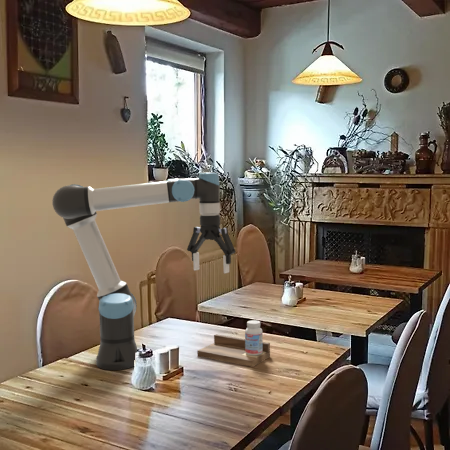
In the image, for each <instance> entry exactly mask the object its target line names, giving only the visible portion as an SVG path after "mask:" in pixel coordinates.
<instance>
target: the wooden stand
mask: <svg viewBox="0 0 450 450" xmlns="http://www.w3.org/2000/svg"><path fill="white" fill-rule="evenodd" d="M196 352H197V357H200V358H204V359H205V358H206V359H210V360H211V359H212V360H216V361H219V362H220V361H221V362H224V363H225V362H226V363H231V364H236V365H240V366H241V365H242V366H247V367H255V366H257V365H259V364H260V363H262V362H264V361H265V359H266V360H267V359H269V358H270V357H271V343H270V342H266V341H265V342H264V341H263V352H262V354H260V355H257V356H252V355H247V354H246V352H245V338H241V337H234V336H231V335H230V336H229V335H223V334H219V333H218V334H214V335H213V343H212V344H209V345H207V346H204V347H203V348H200V349H198V350H197V351H196Z"/></svg>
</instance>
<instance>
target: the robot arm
mask: <svg viewBox="0 0 450 450" xmlns="http://www.w3.org/2000/svg"><path fill="white" fill-rule="evenodd" d="M220 187H221V186H220V175H219V173H217V172H199V174H198V177H196V178H168V179H167V180H163V181H154V182H145V183H143V182H142V183H137V184H126V185H117V186H110V187H109V186H108V187H100V188H92V187H91V186H83V185H80V184H75V183H74V184H69V185H65V186H62V187H60V188H59V189H57V190H56V191H55V193H54V194H53V197H52V207H53V210H54V211H55V213H56V214H57V215H58V216H60V217H61V218H62V219H63V221H64V224H65V226H66V228H69V229H71V230H72V231H73V234H74V235H75V237H76V240H77V242H78V245H79V246H80V250H81V251H82V254H83V256H84V259H85V260H86V263H87V266H88V268H89V269H90V273H91V275H92V276H93V279H94V281H95V284H96V286H97V289H98V290H97V291H98V292H97V294H96V297H97V299H98V301H99V302H98V313H99V314H98V315H99V335H100V336H99V337H100V343H99V347H98V351H97V356H96V358H95V361H96V362H95V363H96V366H97V367H96V368H99V369H102V370H105V371H106V370H107V371H119V370H126V369H130V368H133V366H134V360H135V352H136V351H137V350H139V349H138V346H137V343H136V340H135V322H134V321H135V320H134V319H135V315H136V311H137V300H136V297H135V296H134V294H133V293H132V292H131V290H130V287H129V285H128V283H127V282H126V281H124V280H122V279H121V278H120V275H119V273H118V271H117V268H116V265H115V264H114V261H113V258H112V257H111V254H110V252H109V249H108V247H107V245H106V243H105V240H104V238H103V236H102V234H101V231H100V229H99V225H98V224H97V221H96V220H97V217H98V213H97V212H99V211H107V210H108V211H109V210H115V209H116V210H117V209H124V208H134V207H141V206H150V205H158V204H159V205H160V204H167V203H169V204H170V203H178V202H181V203H185V202H188V201H190V200H192V199H193V200H196V199H197V200H198V201H199V214H200V215H199V225H200V226H195V227H194V226H193V229H192V230H193V232H192V234H191V238H190V241H189V243H188V246H187V248H186V250H187V251H188V252H190V253H191V261H192V263H193V271H194V272H195V271H199V270H200V252H199V249H200V248H201V247H202V245H203V243H205V241H206V240H210V241H214V242H215V243H216V244H217V245H218V246H219V248H220V249H221V251H222V253H224V255H222V257H223V260H222V261H223V265H222V266H223V274H228V273H230V265H231V263H232V257H231V256H232V255H233V254H236V253H237V252H236V249H235V247H234V245H233V242H232V240H231V237H230V236H229V231H228V228H227V227H223V228H221V226H220V225H221V215H220V212H221V204H220V203H221V202H220V201H221V199H220V198H221V197H220V196H221V195H220V194H221V192H220V190H221V189H220ZM200 233H201V234H200ZM199 235H200V236H199ZM134 367H135V366H134Z"/></svg>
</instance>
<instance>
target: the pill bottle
mask: <svg viewBox="0 0 450 450" xmlns="http://www.w3.org/2000/svg"><path fill="white" fill-rule="evenodd" d="M246 326H247V327H246V329H245V331H244V339H245V352H246V354H247V355H252V356H257V355H260V354H262V352H263V342H264V340H263V329H262V328H261V321H259V320H255V319H254V320H248V321H247V322H246Z"/></svg>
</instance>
